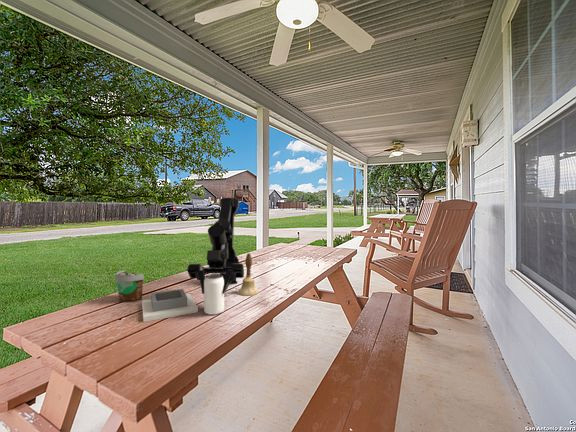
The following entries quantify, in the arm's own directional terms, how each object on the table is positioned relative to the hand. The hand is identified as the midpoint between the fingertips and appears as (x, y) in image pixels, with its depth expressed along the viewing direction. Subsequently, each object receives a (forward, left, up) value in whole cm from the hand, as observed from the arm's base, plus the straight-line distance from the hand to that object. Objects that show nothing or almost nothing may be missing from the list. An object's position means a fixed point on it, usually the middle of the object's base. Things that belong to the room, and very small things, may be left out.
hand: (213, 293), depth 91 cm
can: (-1, -1, -7) cm, 7 cm away
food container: (+25, -27, -7) cm, 38 cm away
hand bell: (-18, -14, -7) cm, 24 cm away
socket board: (+12, -11, -7) cm, 18 cm away
